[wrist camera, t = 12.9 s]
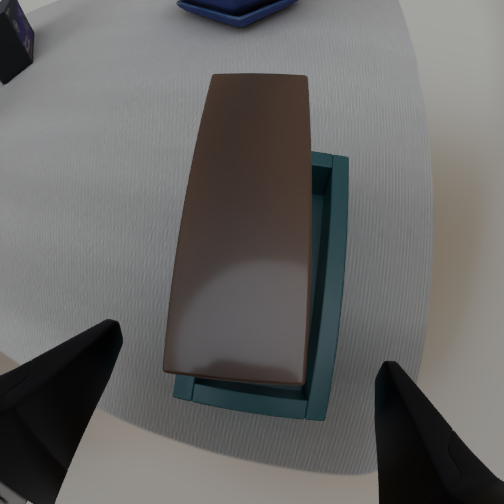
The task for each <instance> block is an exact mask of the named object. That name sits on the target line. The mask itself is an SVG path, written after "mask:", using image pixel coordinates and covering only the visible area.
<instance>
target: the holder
mask: <svg viewBox="0 0 504 504" xmlns="http://www.w3.org/2000/svg"><path fill="white" fill-rule="evenodd" d="M311 165H312V257H311V291H310V315H309V334H308V351H307V366H306V379H305V383H304V385H302V386H292V385H272V384H257V383H244V382H233V381H223V380H214V379H206V378H198V377H191V376H184V375H177V374H176V378H175V385H174V391H173V397H174V398H178V399H183V400H187V401H193V402H196V403H200V404H205V405H210V406H215V407H220V408H225V409H230V410H236V411H242V412H248V413H255V414H262V415H269V416H277V417H285V418H295V419H306V420H318V421H324V420H325V418H326V412H327V407H328V401H329V395H330V389H331V383H332V377H333V370H334V363H335V356H336V349H337V341H338V333H339V325H340V316H341V306H342V296H343V285H344V272H345V258H346V242H347V221H348V184H349V158H348V157H345V156H338V155H333V156H332V154H327V153H320V152H313V151H311Z"/></svg>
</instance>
